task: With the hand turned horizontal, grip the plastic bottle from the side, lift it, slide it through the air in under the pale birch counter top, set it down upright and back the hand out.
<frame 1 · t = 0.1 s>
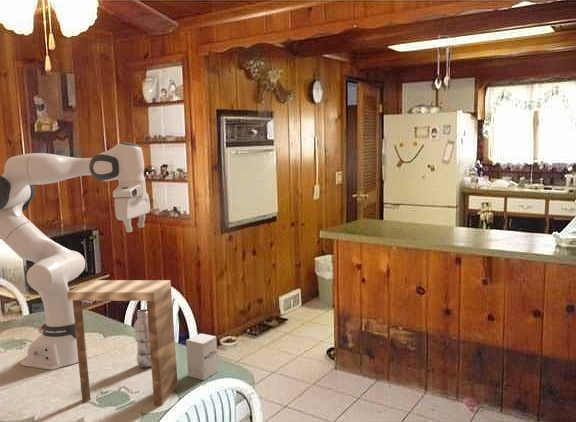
hand: (135, 229, 177), 48 cm above the table, tool pointing down, fingers open, 8 cm apart
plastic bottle: (147, 366, 179), on the table
supplement box: (203, 374, 171), on the table
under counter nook: (129, 393, 160), on the table
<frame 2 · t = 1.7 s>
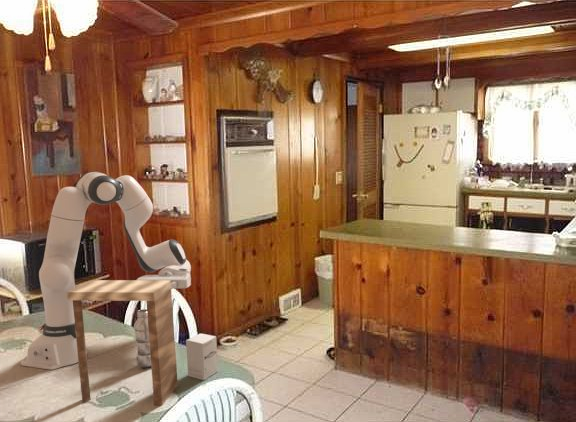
hand: (155, 287, 188), 25 cm above the table, tool horizontal, fingers open, 8 cm apart
nothing on the table moved.
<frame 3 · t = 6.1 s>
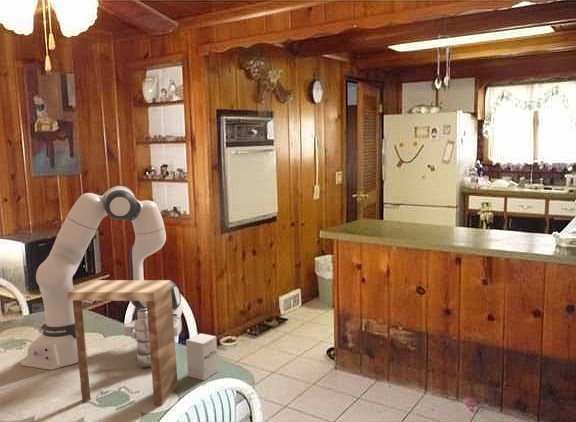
hand: (143, 336, 177), 11 cm above the table, tool horizontal, fingers closed on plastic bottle, 6 cm apart
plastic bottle: (147, 366, 179), on the table, touching gripper
everything else where it was.
when the fingers open (13 cm above the table, at t = 13.4 s): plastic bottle moves 2 cm, on the table.
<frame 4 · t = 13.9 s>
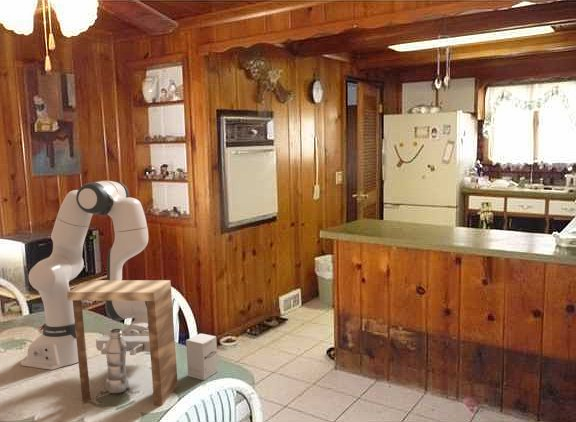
hand: (117, 352, 158), 13 cm above the table, tool horizontal, fingers open, 8 cm apart
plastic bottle: (117, 391, 161), on the table, touching gripper
everything else where it was.
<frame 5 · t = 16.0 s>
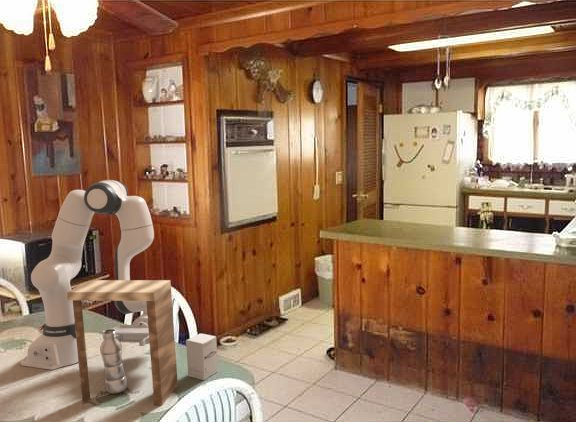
hand: (127, 343, 165), 14 cm above the table, tool horizontal, fingers open, 8 cm apart
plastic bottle: (117, 391, 161), on the table
everything else where it was.
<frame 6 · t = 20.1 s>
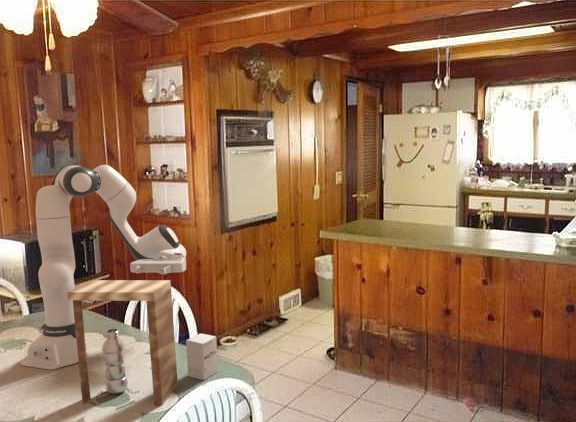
hand: (149, 271, 183), 32 cm above the table, tool horizontal, fingers open, 8 cm apart
at the end: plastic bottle inside the target area (3.9 cm from its centre), on the table; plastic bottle tilted 0°; the gripper is holding nothing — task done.
